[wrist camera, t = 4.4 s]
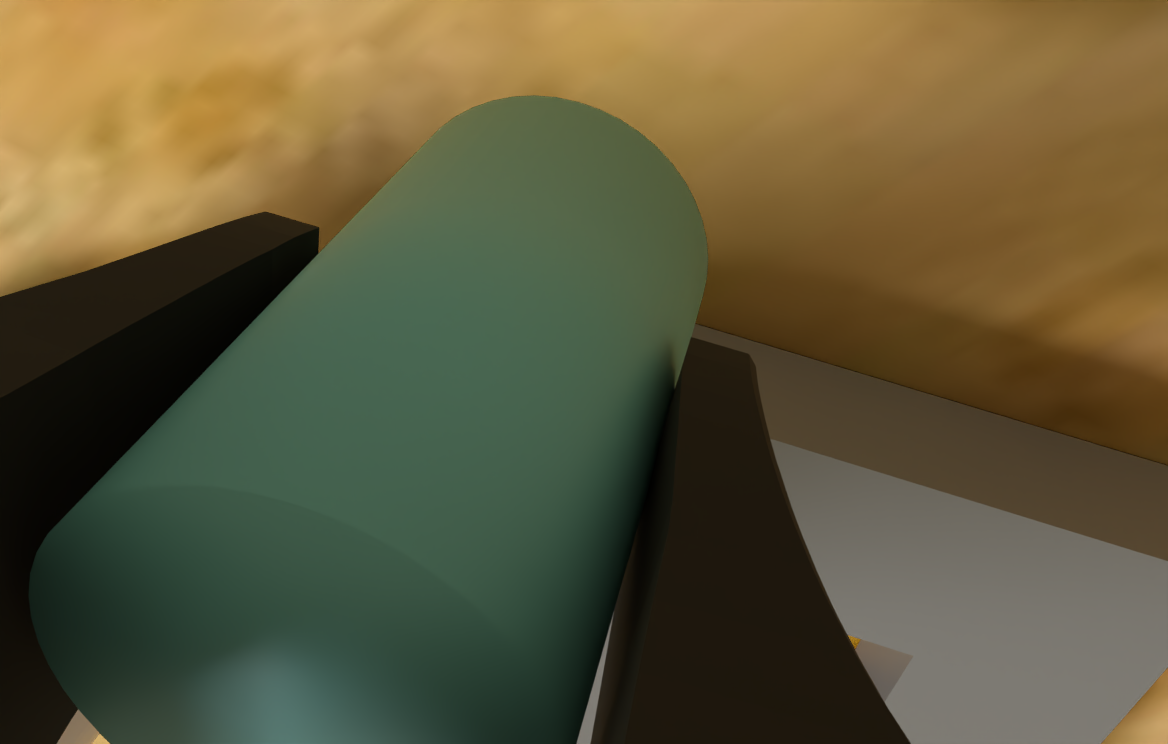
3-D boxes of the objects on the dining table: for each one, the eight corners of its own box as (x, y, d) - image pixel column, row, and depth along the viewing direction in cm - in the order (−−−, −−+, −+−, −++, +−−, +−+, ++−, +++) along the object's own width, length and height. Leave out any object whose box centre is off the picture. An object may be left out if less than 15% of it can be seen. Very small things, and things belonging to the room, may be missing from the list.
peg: (387, 335, 14) (64, 771, 8) (413, 55, 12) (-14, 406, 6) (665, 419, 14) (519, 930, 8) (747, 149, 11) (622, 608, 6)
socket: (451, 677, 30) (413, 765, 27) (528, 273, 21) (483, 350, 19) (922, 835, 28) (926, 942, 26) (1198, 474, 20) (1240, 583, 18)
